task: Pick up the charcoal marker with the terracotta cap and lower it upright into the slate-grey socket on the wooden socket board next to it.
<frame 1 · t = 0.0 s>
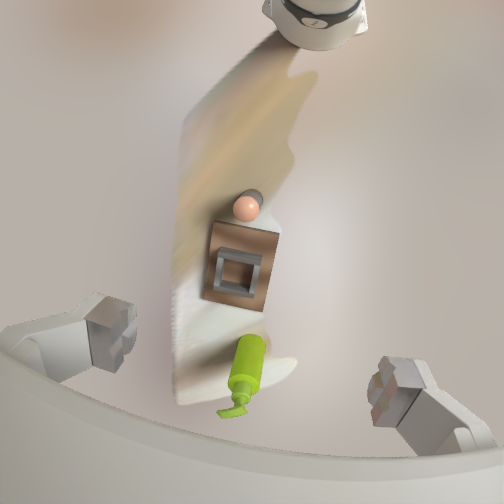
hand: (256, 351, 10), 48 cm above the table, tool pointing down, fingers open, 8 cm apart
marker: (251, 200, 57), on the table
soap dispenser: (249, 345, 67), on the table
wooden socket board: (240, 266, 61), on the table
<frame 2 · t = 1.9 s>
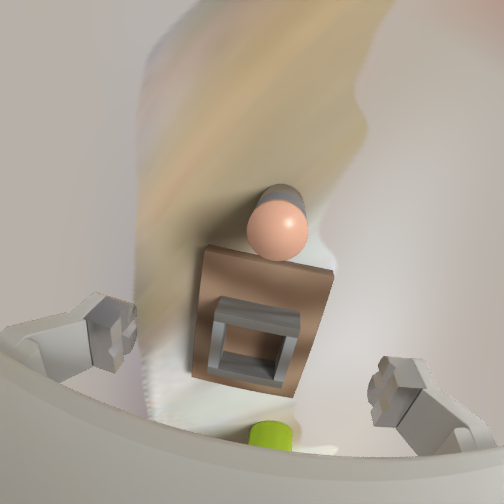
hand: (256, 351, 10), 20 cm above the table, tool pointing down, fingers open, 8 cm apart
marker: (281, 206, 28), on the table
soap dispenser: (268, 432, 39), on the table
wooden socket board: (255, 327, 33), on the table
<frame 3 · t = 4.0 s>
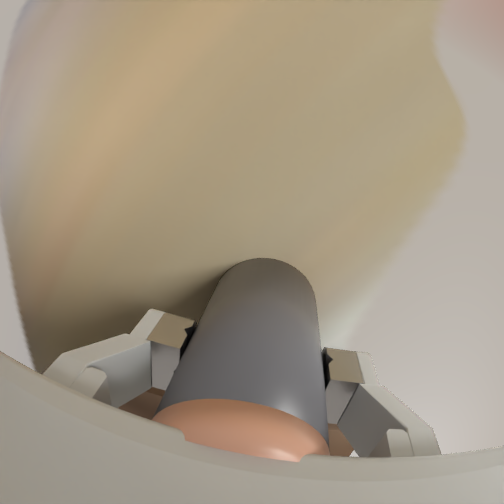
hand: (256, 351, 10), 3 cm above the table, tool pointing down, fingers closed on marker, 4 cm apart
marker: (264, 306, 12), on the table, touching gripper
wooden socket board: (224, 469, 17), on the table
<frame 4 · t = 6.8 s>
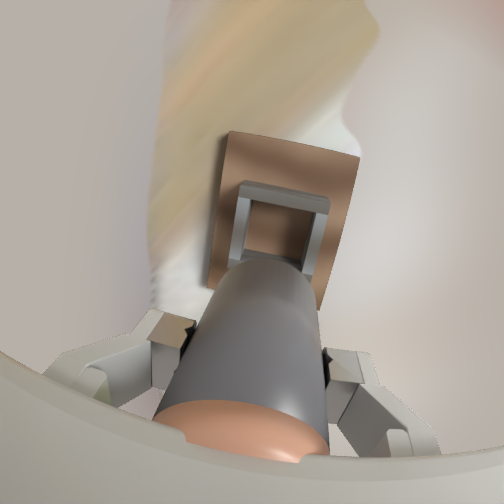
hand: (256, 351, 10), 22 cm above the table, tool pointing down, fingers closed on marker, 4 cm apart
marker: (264, 306, 12), point 20 cm above the table, touching gripper
wooden socket board: (279, 222, 31), on the table
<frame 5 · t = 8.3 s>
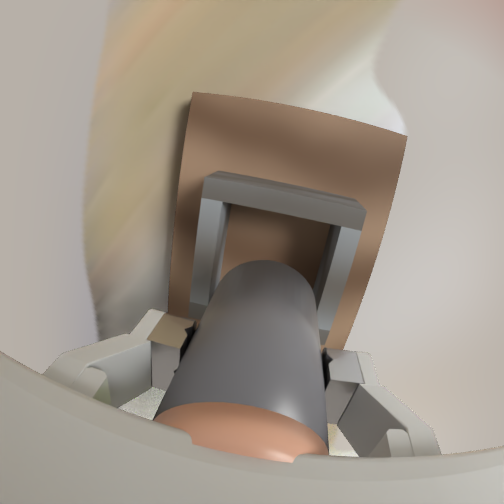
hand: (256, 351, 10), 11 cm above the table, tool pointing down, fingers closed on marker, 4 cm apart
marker: (264, 307, 12), point 8 cm above the table, touching gripper
wooden socket board: (275, 240, 20), on the table
when the fingers open (6 cm above the table, at t = 9.7 s): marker drops 1 cm, resting on wooden socket board.
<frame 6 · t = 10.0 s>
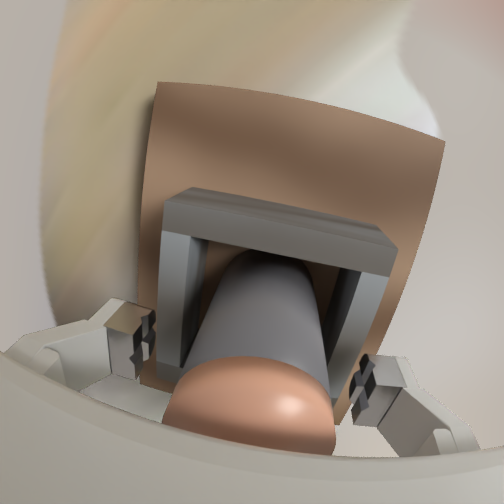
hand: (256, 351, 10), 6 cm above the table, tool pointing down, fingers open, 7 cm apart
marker: (266, 290, 14), point 2 cm above the table, touching wooden socket board
wooden socket board: (269, 275, 15), on the table
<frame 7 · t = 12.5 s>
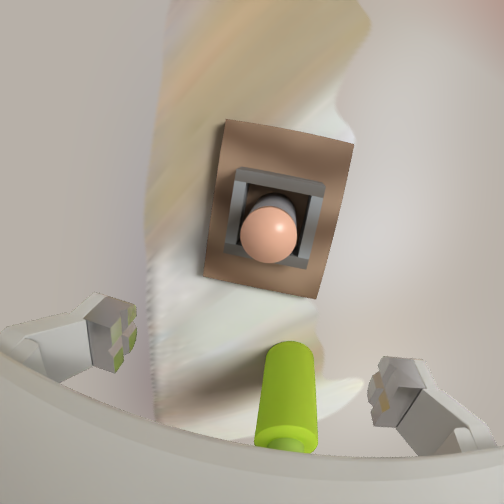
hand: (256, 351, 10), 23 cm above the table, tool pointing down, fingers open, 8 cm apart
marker: (274, 213, 30), point 2 cm above the table, touching wooden socket board
soap dispenser: (285, 360, 38), on the table
wooden socket board: (275, 209, 31), on the table
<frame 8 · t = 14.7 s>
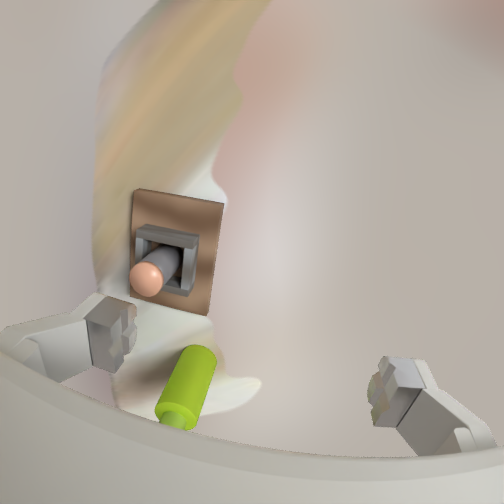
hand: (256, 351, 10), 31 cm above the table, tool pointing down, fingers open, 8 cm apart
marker: (169, 255, 42), point 2 cm above the table, touching wooden socket board
soap dispenser: (196, 359, 50), on the table
wooden socket board: (173, 251, 43), on the table
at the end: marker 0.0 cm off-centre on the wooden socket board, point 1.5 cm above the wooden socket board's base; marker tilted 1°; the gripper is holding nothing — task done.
